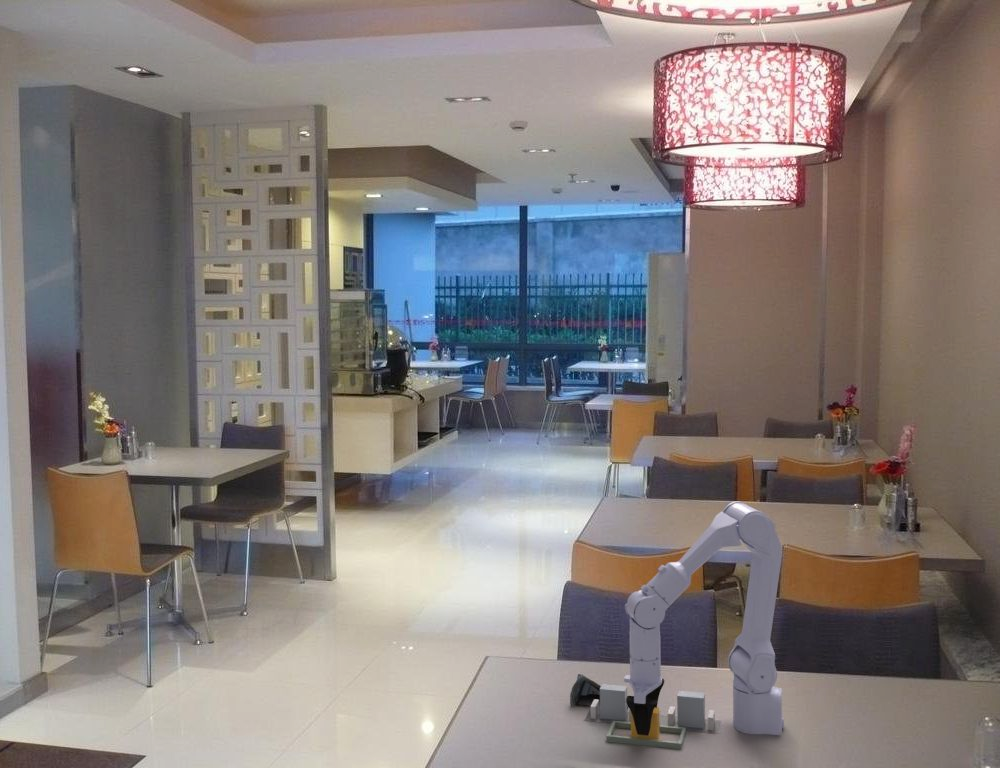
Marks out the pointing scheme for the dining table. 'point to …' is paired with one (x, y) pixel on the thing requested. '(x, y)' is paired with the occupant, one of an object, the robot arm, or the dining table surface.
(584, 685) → the chocolate cake
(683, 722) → the block
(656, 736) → the block
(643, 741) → the tray
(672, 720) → the block
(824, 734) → the dining table surface
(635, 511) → the dining table surface
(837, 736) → the dining table surface
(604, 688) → the block
